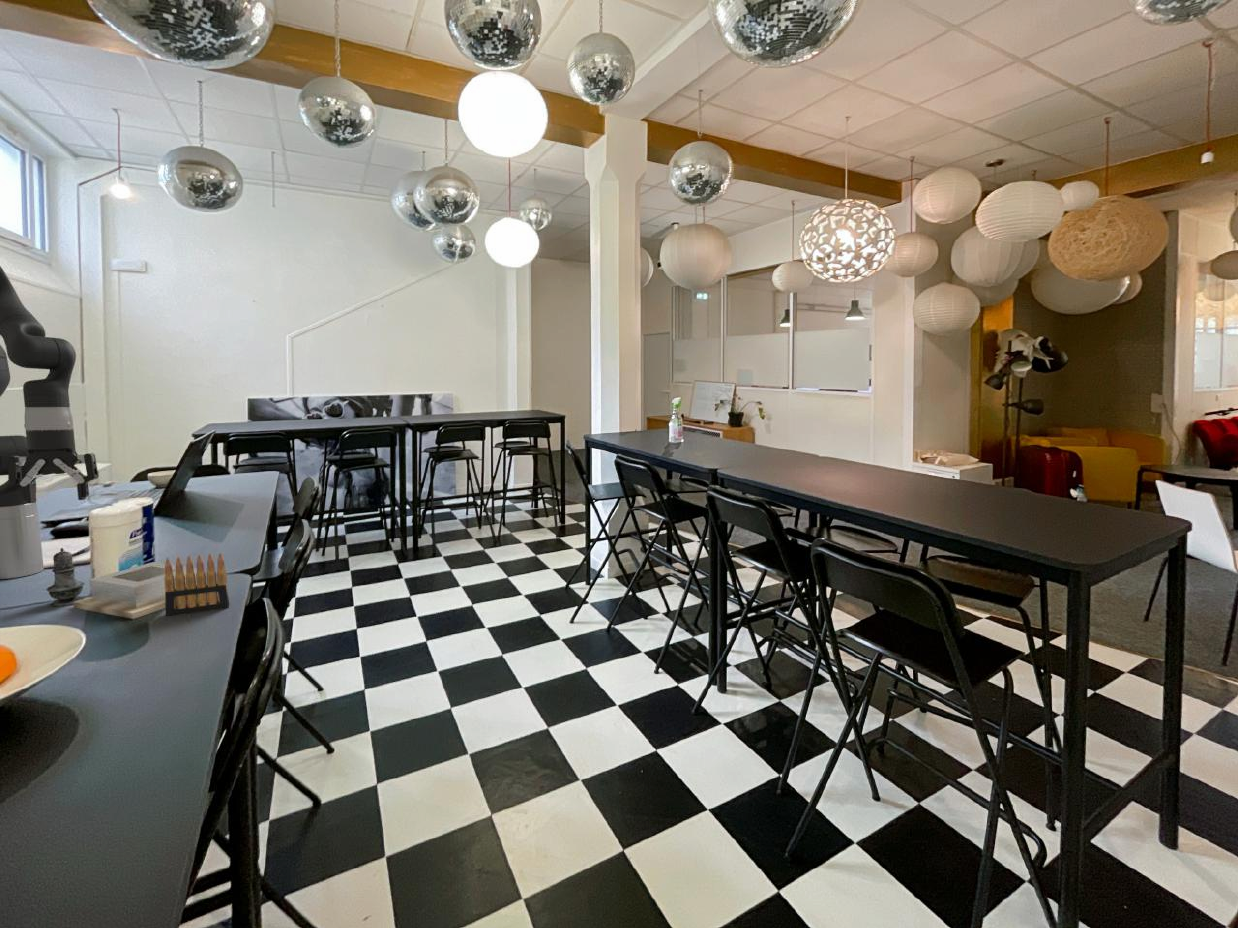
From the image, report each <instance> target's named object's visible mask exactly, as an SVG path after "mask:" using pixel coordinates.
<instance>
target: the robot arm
mask: <svg viewBox="0 0 1238 928" xmlns="http://www.w3.org/2000/svg"><path fill="white" fill-rule="evenodd" d="M0 337H2V339H3V342H4V346H5V349H6V350H5V349H4V348H3V346H2V345H1V344H0V398H1V396H2V395H3V394H4V393H5V391H6V390H7V389H8V386H9V384H10V382H11V373H10V367H9V361H10V362H11V363H13V364H14V365H15V366H18V367H20V368H25V369H33V370H35V369H36V370H49V372H48V374H47V376H46V377H45V378H42V379H40V378H39V379H34V380H33V379H31V380H28V381H26V382H24V383H23V386H22V391H23V393H22V394H23V401H24V429H25V436H24V435H20V434H19V435H18V434H15V435H0V476H8V477H7V478H8V479H7V481H5V482H4V483H2V484H0V580H4V579H5V580H6V579H15V578H22V577H26V576H31V575H34V574H38V573H40V572H42V571H44V558H43V548H42V547H43V546H42V538H41V529H40V522H39V521H40V518H39V512H38V501H37V479H39V478H40V477H41V476H42V475H43V476H45V475H54V474H55V475H64V474H67V475H68V476H69V477H71V478H73V480H75V481H76V482H77V484H76V489H77V499H78V501H84V500H86V499H87V497H89V495H90V489H89V488H90V487H89V483H90V482H91V481H94V480H97V479H99V476H100V475H99V472H98V465H97V459H96V455H95V453H93V452H90V453H85V454H78V453H77V451H76V440H75V431H74V421H73V415H72V410H71V408H70V406H71V404H70V396H69V389H70V388H69V387H70V383H71V378H72V374H73V372H74V371H73V370H74V367H75V363H76V360H77V354H76V350H75V348H74V346H73V345H72V344H71V342H69V341H68V340H66V339H64V338H61V337H59V338H58V337H50V336H46V330H45V328H44V326H43V325H42V324H41V323H40V321H39V320H38V319H37V318H36V317H35V316H34V315H33V314H32V313H31V312H30V311H29V310H28V309H27V308H26V307H25V305H24V304H23V302H22V300H21V299H20V297H19V295H18V293H17V291H16V289H15V288H14V286H13V284H12V282H11V281H10V279H9V277H8V275H7V273H6V272H5V270H4V269H3V268H2V267H1V266H0ZM8 359H9V361H8ZM78 461H80V462H81V464H85V470H86V471H85V472H86V475H85V474H84V473H82V471H81V470H80V469H79V468H78V467H77V466H76V464H77V463H78Z"/></svg>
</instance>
